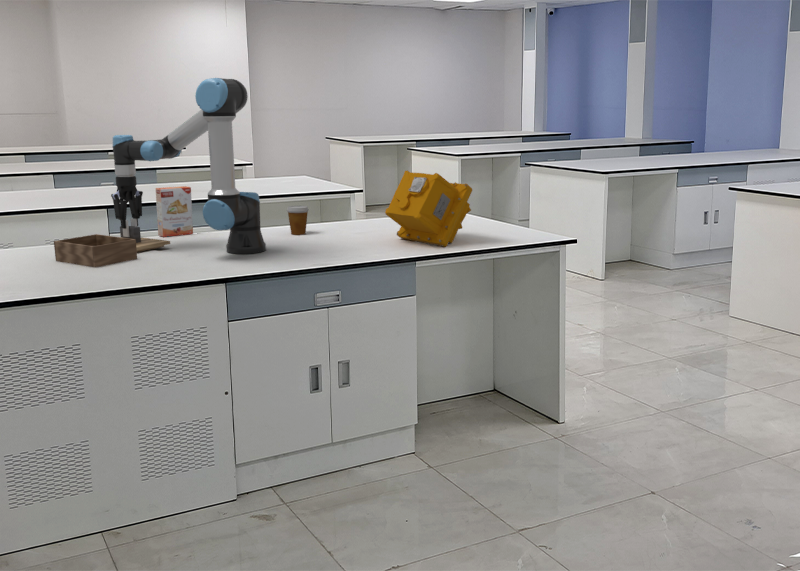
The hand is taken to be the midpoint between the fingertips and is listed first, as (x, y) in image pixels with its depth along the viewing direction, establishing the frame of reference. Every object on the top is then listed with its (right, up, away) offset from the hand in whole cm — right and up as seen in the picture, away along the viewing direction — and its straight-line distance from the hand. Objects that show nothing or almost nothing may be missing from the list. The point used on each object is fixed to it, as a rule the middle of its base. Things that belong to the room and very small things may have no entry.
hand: (130, 235), depth 305 cm
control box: (+118, -2, +19) cm, 119 cm away
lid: (0, -5, +1) cm, 5 cm away
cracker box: (+8, +2, +36) cm, 37 cm away
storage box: (-4, -11, -22) cm, 25 cm away
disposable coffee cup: (+61, +3, +38) cm, 72 cm away
